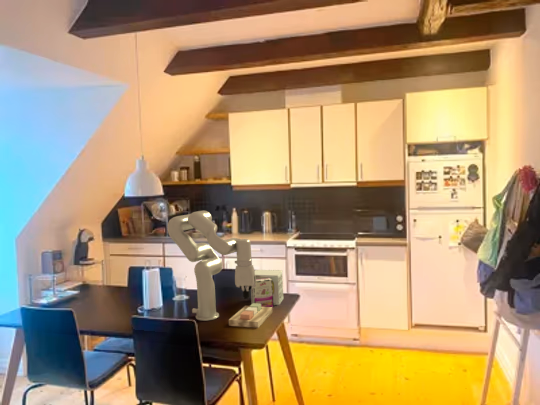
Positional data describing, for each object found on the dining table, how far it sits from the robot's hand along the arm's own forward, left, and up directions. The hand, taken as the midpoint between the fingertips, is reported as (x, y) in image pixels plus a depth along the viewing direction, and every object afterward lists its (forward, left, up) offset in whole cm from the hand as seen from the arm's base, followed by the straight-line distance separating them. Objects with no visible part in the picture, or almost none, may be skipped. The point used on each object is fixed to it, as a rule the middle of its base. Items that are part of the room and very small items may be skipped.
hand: (246, 298), depth 230 cm
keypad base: (-1, +7, -13) cm, 15 cm away
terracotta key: (-1, 0, -11) cm, 11 cm away
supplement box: (-2, +38, -14) cm, 41 cm away
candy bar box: (-1, +27, -14) cm, 30 cm away
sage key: (-1, +14, -11) cm, 18 cm away
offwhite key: (-1, +7, -11) cm, 13 cm away
